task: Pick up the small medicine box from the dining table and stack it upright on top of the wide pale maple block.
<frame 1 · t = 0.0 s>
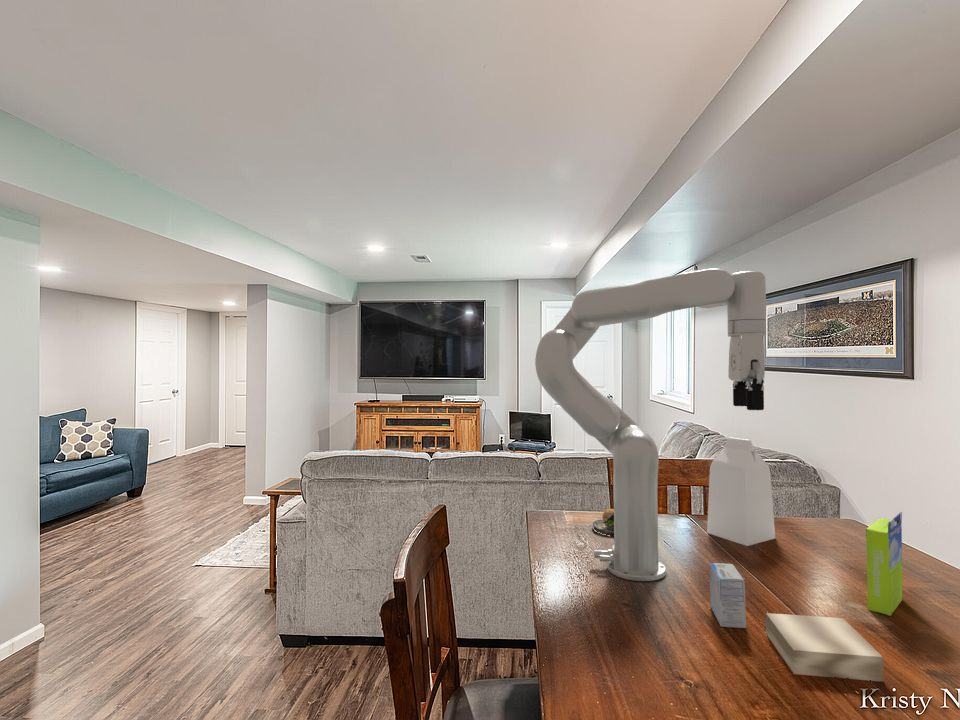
hand: (747, 407, 116), 37 cm above the table, tool pointing down, fingers open, 9 cm apart
maple block: (820, 658, 85), on the table
medicine box: (727, 619, 98), on the table
box: (885, 606, 102), on the table
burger: (614, 531, 149), on the table
milk: (740, 536, 143), on the table
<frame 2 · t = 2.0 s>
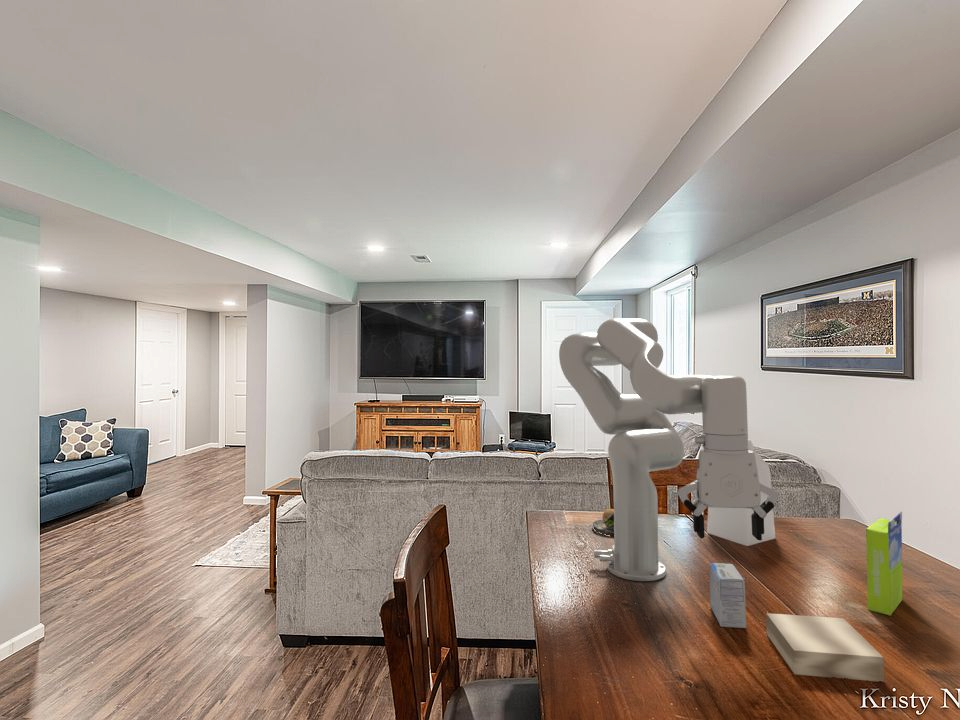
hand: (728, 537, 97), 15 cm above the table, tool pointing down, fingers open, 9 cm apart
nothing on the table moved.
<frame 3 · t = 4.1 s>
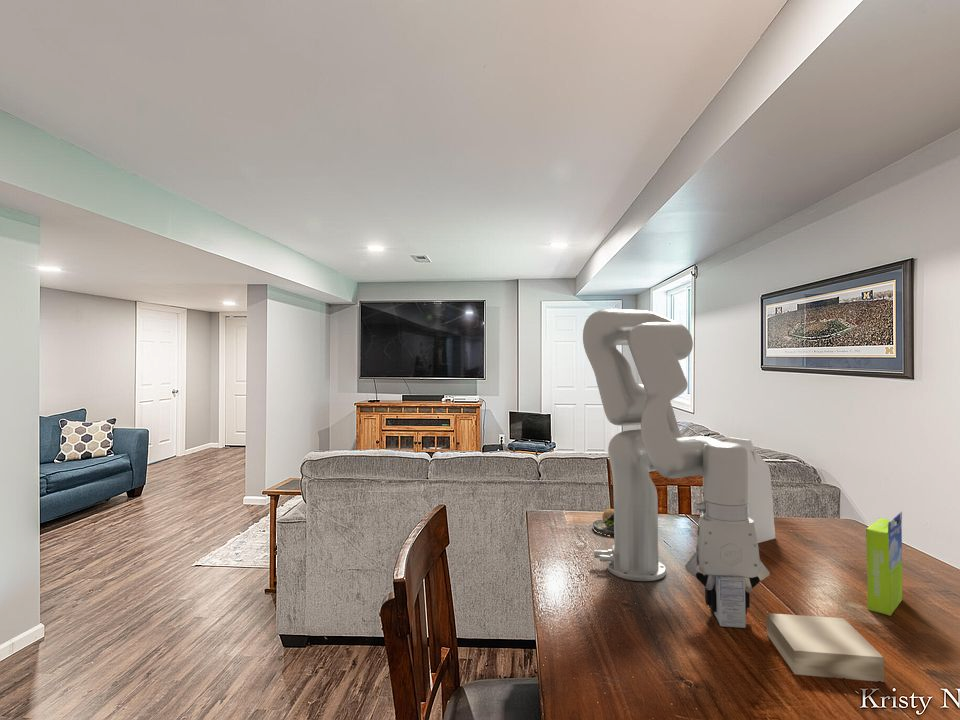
hand: (727, 608, 98), 2 cm above the table, tool pointing down, fingers closed on medicine box, 4 cm apart
medicine box: (727, 618, 98), on the table, touching gripper
everything else where it was.
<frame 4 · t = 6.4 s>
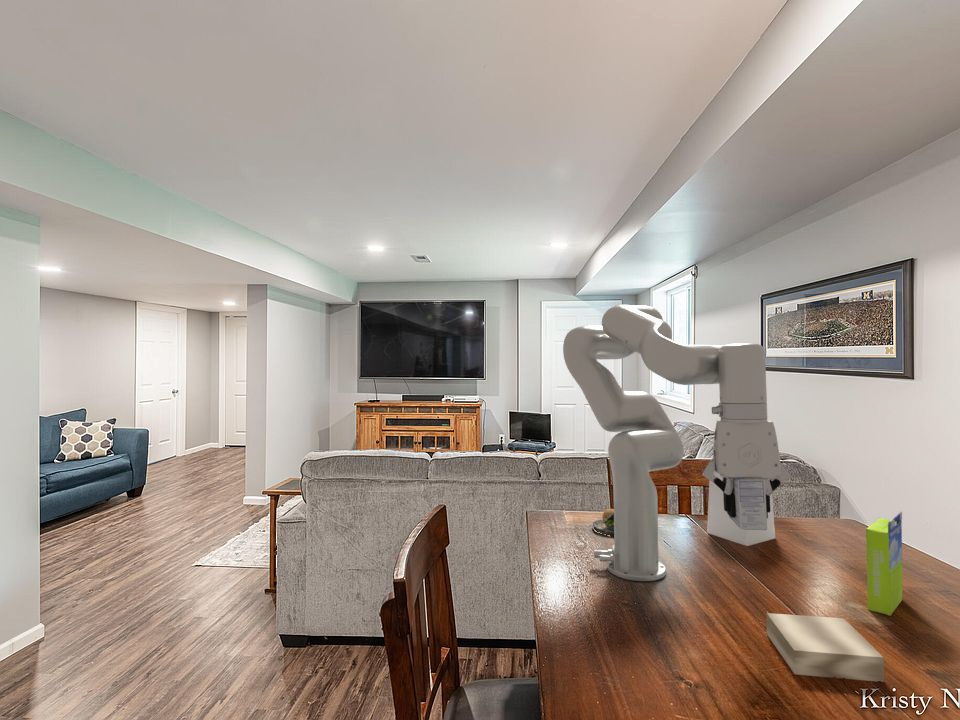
hand: (747, 514, 94), 20 cm above the table, tool pointing down, fingers closed on medicine box, 4 cm apart
medicine box: (747, 525, 94), point 18 cm above the table, touching gripper
everything else where it was.
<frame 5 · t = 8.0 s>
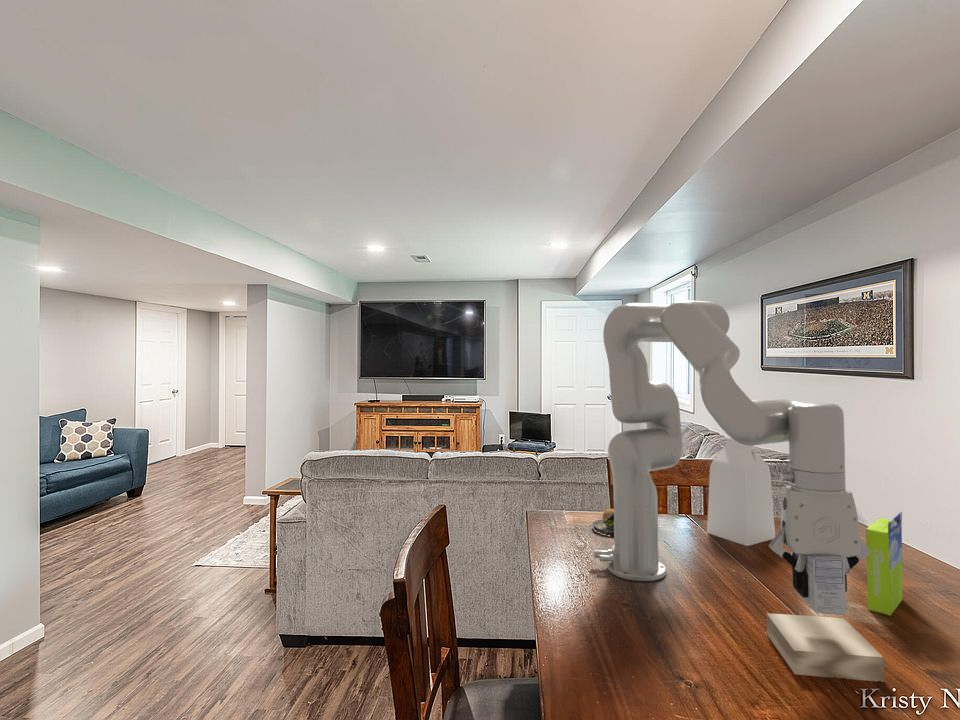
hand: (819, 593, 85), 10 cm above the table, tool pointing down, fingers closed on medicine box, 4 cm apart
medicine box: (819, 605, 85), point 8 cm above the table, touching gripper
everything else where it was.
when the fingers open (7 cm above the table, at t = 8.9 s): medicine box drops 2 cm, resting on maple block.
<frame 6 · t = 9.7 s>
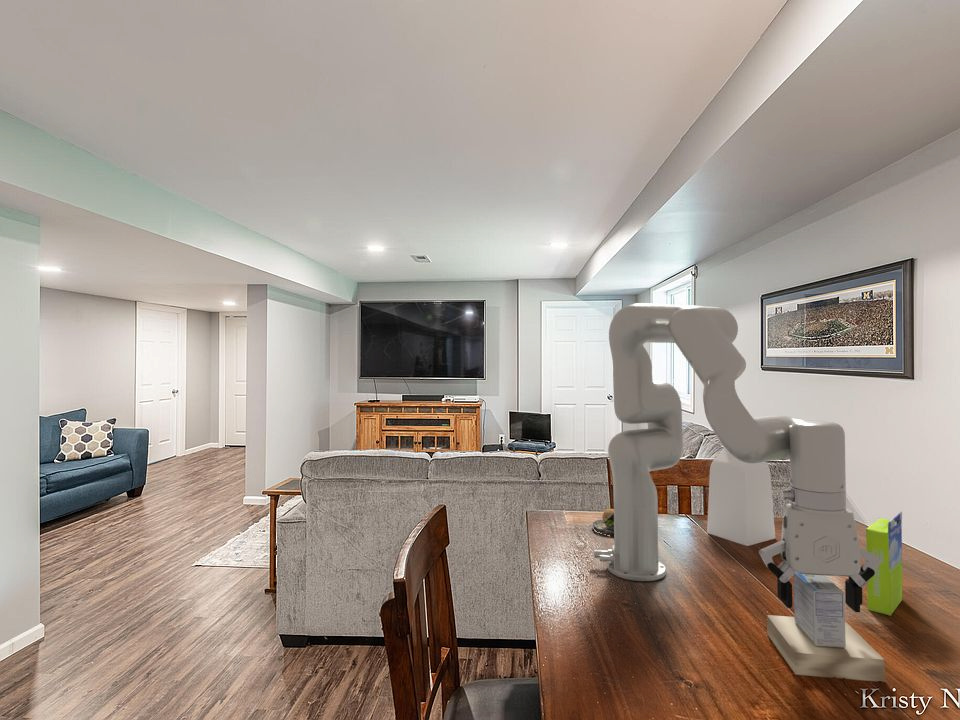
hand: (819, 606, 85), 8 cm above the table, tool pointing down, fingers open, 9 cm apart
maple block: (821, 660, 85), on the table, touching medicine box
medicine box: (818, 636, 85), point 3 cm above the table, touching maple block
everything else where it was.
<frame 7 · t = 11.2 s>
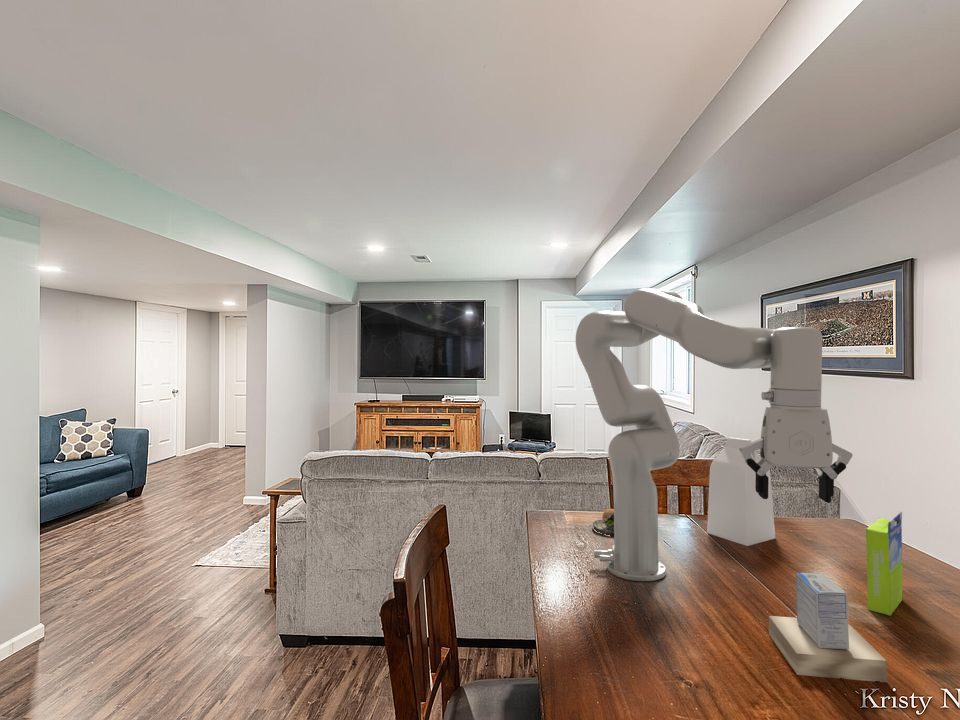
hand: (793, 498, 92), 23 cm above the table, tool pointing down, fingers open, 9 cm apart
nothing on the table moved.
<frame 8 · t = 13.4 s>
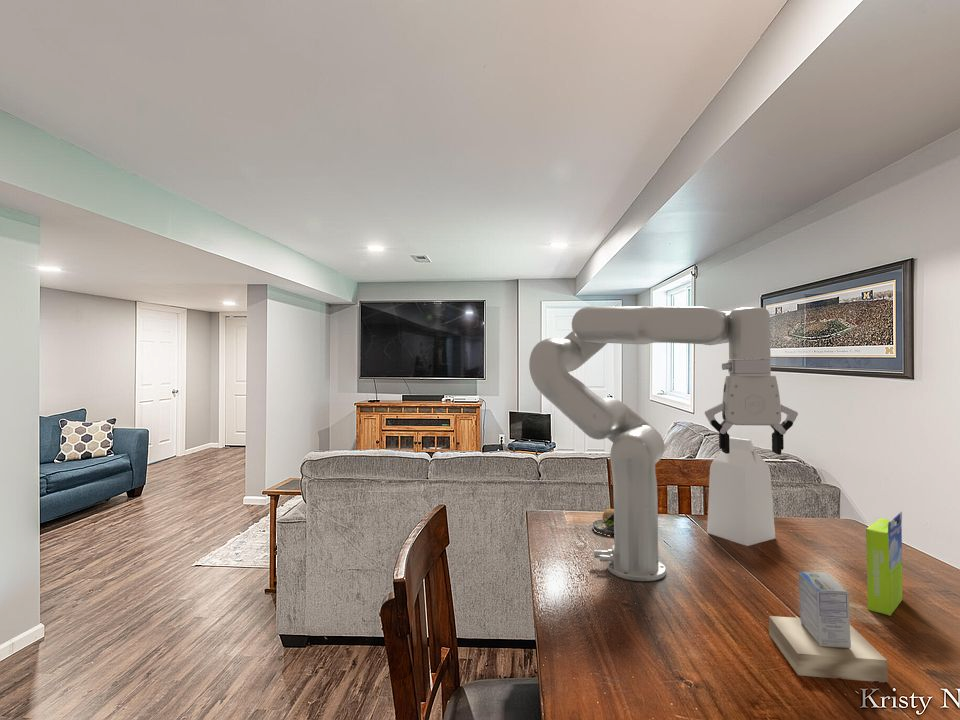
hand: (750, 452, 108), 28 cm above the table, tool pointing down, fingers open, 9 cm apart
nothing on the table moved.
at the end: medicine box inside the target area on the maple block (0.3 cm from its centre), point 3.8 cm above the maple block's base; medicine box tilted 1°; the gripper is holding nothing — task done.
